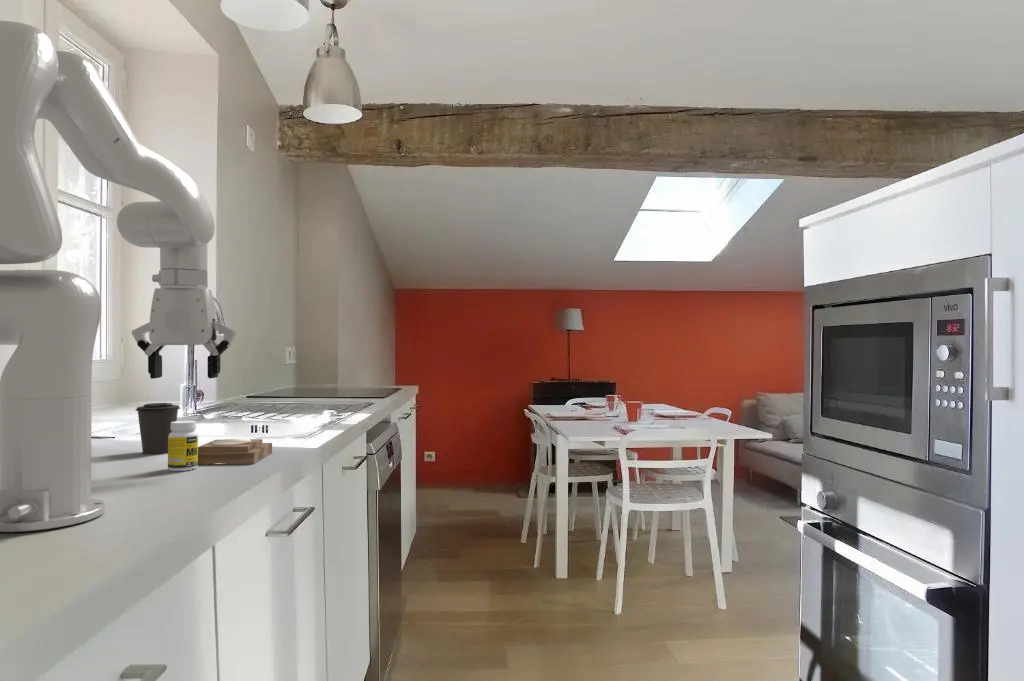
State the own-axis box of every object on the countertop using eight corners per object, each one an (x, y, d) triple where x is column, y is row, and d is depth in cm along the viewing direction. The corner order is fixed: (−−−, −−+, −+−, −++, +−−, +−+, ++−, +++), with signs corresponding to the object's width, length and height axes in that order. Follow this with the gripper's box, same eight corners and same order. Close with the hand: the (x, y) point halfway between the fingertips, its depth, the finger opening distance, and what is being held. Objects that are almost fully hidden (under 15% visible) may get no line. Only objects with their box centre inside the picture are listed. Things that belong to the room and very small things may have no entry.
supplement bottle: (189, 472, 112) (189, 423, 112) (162, 471, 112) (162, 423, 112) (202, 466, 117) (203, 420, 117) (177, 466, 117) (177, 419, 117)
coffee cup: (166, 456, 127) (166, 405, 127) (125, 455, 128) (126, 405, 128) (188, 449, 135) (188, 401, 135) (150, 448, 136) (150, 401, 136)
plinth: (254, 463, 120) (254, 446, 120) (186, 464, 119) (186, 446, 119) (272, 452, 132) (272, 436, 132) (210, 453, 131) (210, 437, 131)
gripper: (122, 279, 110) (122, 379, 111) (227, 280, 112) (227, 379, 112) (143, 282, 118) (143, 376, 118) (241, 283, 119) (241, 376, 120)
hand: (184, 377), depth 115 cm, fingers open, 9 cm apart
